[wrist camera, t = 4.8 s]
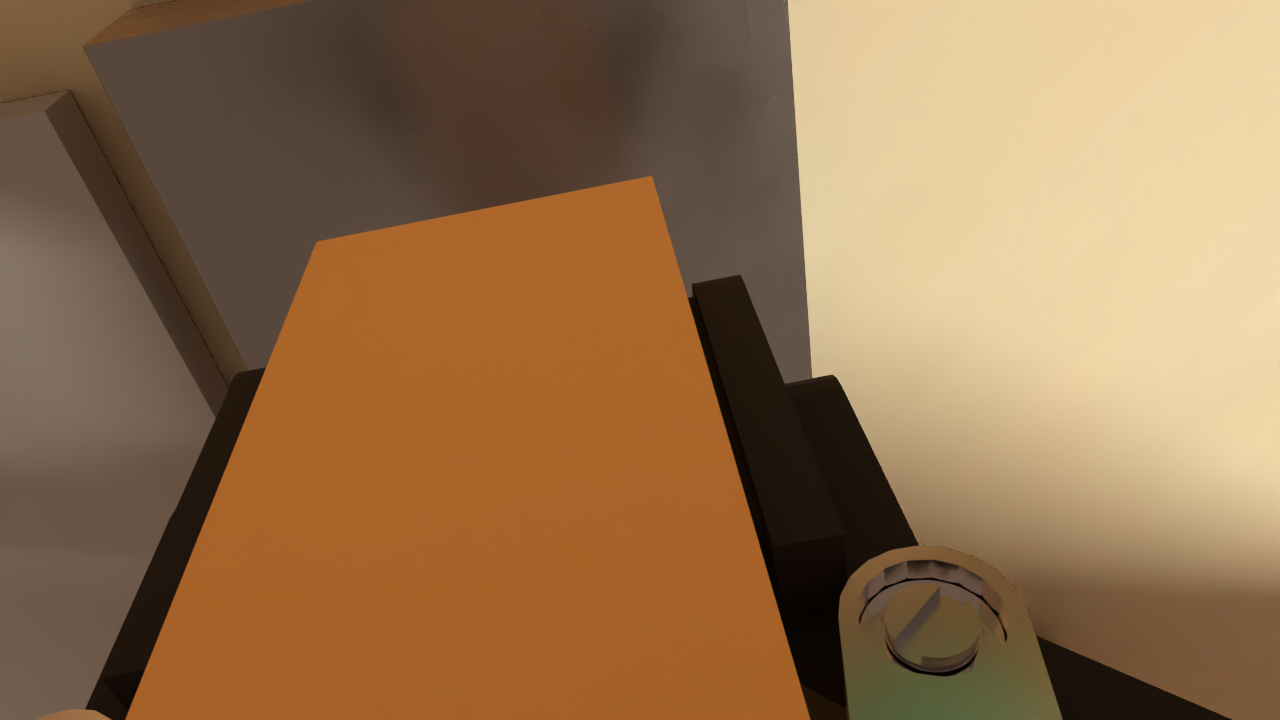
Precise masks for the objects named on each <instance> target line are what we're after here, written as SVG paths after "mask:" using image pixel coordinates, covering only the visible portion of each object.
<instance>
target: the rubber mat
mask: <svg viewBox="0 0 1280 720" xmlns="http://www.w3.org/2000/svg"><path fill="white" fill-rule="evenodd" d="M228 390H229V388H228V386H227V384H226V383H225V381H224V379H223V377H222V375H221V373H220V371H219V370H218V368H217V366H216V364H215V362H214V360H213V358H212V356H211V355H210V353H209V351H208V349H207V347H206V345H205V343H204V341H203V340H202V338H201V336H200V334H199V332H198V330H197V328H196V326H195V325H194V323H193V321H192V319H191V317H190V315H189V313H188V312H187V310H186V308H185V306H184V304H183V302H182V300H181V298H180V297H179V295H178V293H177V291H176V289H175V287H174V285H173V283H172V282H171V280H170V278H169V276H168V274H167V272H166V270H165V268H164V267H163V265H162V263H161V261H160V259H159V257H158V255H157V253H156V252H155V250H154V248H153V246H152V244H151V242H150V240H149V239H148V237H147V235H146V233H145V231H144V229H143V227H142V225H141V224H140V222H139V220H138V218H137V216H136V214H135V212H134V210H133V209H132V207H131V205H130V203H129V201H128V199H127V197H126V195H125V194H124V192H123V190H122V188H121V186H120V184H119V182H118V181H117V179H116V177H115V175H114V173H113V171H112V169H111V167H110V166H109V164H108V162H107V160H106V158H105V156H104V154H103V152H102V151H101V149H100V147H99V145H98V143H97V141H96V139H95V137H94V136H93V134H92V132H91V130H90V128H89V126H88V124H87V123H86V121H85V119H84V117H83V115H82V113H81V111H80V109H79V108H78V106H77V104H76V102H75V100H74V98H73V96H72V94H71V93H70V91H69V90H66V91H61V92H56V93H52V94H47V95H42V96H37V97H32V98H27V99H22V100H17V101H12V102H7V103H2V104H0V720H36V719H38V718H40V717H42V716H45V715H47V714H52V713H56V712H61V711H65V710H70V709H83V710H85V708H86V706H87V703H88V701H89V699H90V697H91V695H92V692H93V690H94V688H95V686H96V683H97V681H98V679H99V677H100V674H101V672H102V670H103V668H104V665H105V663H106V661H107V659H108V656H109V654H110V652H111V650H112V647H113V645H114V643H115V641H116V638H117V636H118V634H119V632H120V629H121V627H122V625H123V623H124V620H125V618H126V616H127V614H128V611H129V609H130V607H131V605H132V602H133V600H134V598H135V596H136V593H137V591H138V589H139V587H140V584H141V582H142V580H143V578H144V575H145V573H146V571H147V569H148V566H149V564H150V562H151V560H152V558H153V555H154V553H155V551H156V549H157V546H158V544H159V542H160V540H161V537H162V535H163V533H164V531H165V528H166V526H167V524H168V522H169V519H170V517H171V516H172V514H173V512H174V511H175V509H176V507H177V505H178V502H179V500H180V498H181V496H182V493H183V491H184V489H185V487H186V484H187V482H188V480H189V478H190V475H191V473H192V471H193V469H194V466H195V464H196V462H197V460H198V457H199V455H200V453H201V451H202V448H203V446H204V444H205V442H206V439H207V437H208V435H209V433H210V430H211V428H212V426H213V424H214V421H215V419H216V417H217V415H218V412H219V410H220V408H221V405H222V403H223V401H224V399H225V396H226V394H227V392H228Z"/></svg>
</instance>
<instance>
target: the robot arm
mask: <svg viewBox="0 0 1280 720" xmlns="http://www.w3.org/2000/svg"><path fill="white" fill-rule="evenodd" d="M692 295H693V297H689V298H688V301H689V304H690V308H691V311H692V315H693V318H694V322H695V325H696V328H697V332H698V335H699V339H700V342H701V346H702V349H703V352H704V356H705V359H706V363H707V366H708V370H709V373H710V377H711V380H712V383H713V387H714V390H715V394H716V397H717V401H718V404H719V407H720V411H721V414H722V418H723V421H724V425H725V428H726V431H727V435H728V438H729V442H730V445H731V449H732V452H733V455H734V459H735V462H736V466H737V469H738V473H739V476H740V480H741V483H742V486H743V490H744V493H745V497H746V500H747V504H748V507H749V510H750V514H751V517H752V521H753V524H754V528H755V531H756V534H757V538H758V541H759V545H760V548H761V552H762V555H763V559H764V562H765V565H766V569H767V572H768V576H769V579H770V583H771V586H772V589H773V593H774V596H775V600H776V603H777V607H778V610H779V613H780V617H781V620H782V624H783V627H784V631H785V634H786V637H787V641H788V644H789V648H790V651H791V655H792V658H793V662H794V665H795V668H796V672H797V675H798V679H799V682H800V686H801V689H802V692H803V696H804V699H805V703H806V706H807V710H808V713H809V716H810V720H1232V719H1229V718H1227V717H1225V716H1222V715H1220V714H1218V713H1215V712H1213V711H1211V710H1208V709H1206V708H1204V707H1201V706H1199V705H1197V704H1194V703H1192V702H1190V701H1187V700H1185V699H1183V698H1180V697H1178V696H1176V695H1173V694H1171V693H1169V692H1166V691H1164V690H1162V689H1159V688H1157V687H1155V686H1152V685H1150V684H1148V683H1145V682H1143V681H1141V680H1138V679H1136V678H1134V677H1131V676H1129V675H1126V674H1124V673H1122V672H1119V671H1117V670H1115V669H1112V668H1110V667H1108V666H1105V665H1103V664H1101V663H1098V662H1096V661H1094V660H1091V659H1089V658H1087V657H1084V656H1082V655H1080V654H1077V653H1075V652H1073V651H1070V650H1068V649H1066V648H1063V647H1061V646H1059V645H1056V644H1054V643H1052V642H1049V641H1047V640H1045V639H1042V638H1040V637H1038V636H1036V634H1035V631H1034V628H1033V625H1032V622H1031V619H1030V616H1029V613H1028V610H1027V608H1026V606H1025V604H1024V602H1023V600H1022V599H1021V597H1020V595H1019V593H1018V591H1017V589H1016V588H1015V587H1014V586H1013V585H1012V584H1011V583H1010V582H1009V581H1008V580H1007V579H1006V578H1005V577H1004V576H1003V575H1002V574H1001V573H1000V572H999V571H998V570H997V569H995V568H993V567H992V566H990V565H988V564H986V563H985V562H983V561H981V560H979V559H978V558H976V557H974V556H972V555H969V554H965V553H962V552H959V551H955V550H952V549H948V548H945V547H929V546H919V545H918V542H917V540H916V538H915V536H914V534H913V532H912V530H911V528H910V526H909V524H908V522H907V520H906V518H905V516H904V514H903V512H902V510H901V507H900V505H899V503H898V501H897V499H896V497H895V495H894V493H893V491H892V489H891V487H890V485H889V483H888V481H887V479H886V477H885V474H884V472H883V470H882V468H881V466H880V464H879V462H878V460H877V458H876V456H875V454H874V452H873V450H872V448H871V446H870V444H869V442H868V439H867V437H866V435H865V433H864V431H863V429H862V427H861V425H860V423H859V421H858V419H857V417H856V415H855V413H854V411H853V409H852V407H851V404H850V402H849V400H848V398H847V396H846V394H845V392H844V390H843V388H842V386H841V384H840V383H839V381H838V379H837V378H836V377H835V376H833V375H828V376H823V377H818V378H812V379H807V380H802V381H797V382H792V383H787V384H785V383H784V381H783V378H782V376H781V373H780V371H779V368H778V366H777V363H776V361H775V358H774V356H773V353H772V351H771V348H770V346H769V343H768V341H767V338H766V336H765V333H764V331H763V328H762V326H761V323H760V321H759V318H758V316H757V313H756V311H755V308H754V306H753V303H752V301H751V298H750V296H749V293H748V291H747V288H746V286H745V283H744V281H743V279H742V277H741V275H734V276H729V277H724V278H719V279H714V280H709V281H704V282H698V283H693V284H692ZM265 369H266V367H265V368H259V369H254V370H249V371H244V372H240V373H238V374H236V376H235V377H234V379H233V381H232V383H231V385H230V387H229V390H228V392H227V394H226V396H225V399H224V401H223V403H222V405H221V408H220V410H219V412H218V415H217V417H216V419H215V421H214V424H213V426H212V428H211V430H210V433H209V435H208V437H207V439H206V442H205V444H204V446H203V448H202V451H201V453H200V455H199V457H198V460H197V462H196V464H195V466H194V469H193V471H192V473H191V475H190V478H189V480H188V482H187V484H186V487H185V489H184V491H183V493H182V496H181V498H180V500H179V502H178V505H177V507H176V509H175V511H174V512H173V514H172V516H171V517H170V519H169V522H168V524H167V526H166V528H165V531H164V533H163V535H162V537H161V540H160V542H159V544H158V546H157V549H156V551H155V553H154V555H153V558H152V560H151V562H150V564H149V566H148V569H147V571H146V573H145V575H144V578H143V580H142V582H141V584H140V587H139V589H138V591H137V593H136V596H135V598H134V600H133V602H132V605H131V607H130V609H129V611H128V614H127V616H126V618H125V620H124V623H123V625H122V627H121V629H120V632H119V634H118V636H117V638H116V641H115V643H114V645H113V647H112V650H111V652H110V654H109V656H108V659H107V661H106V663H105V665H104V668H103V670H102V672H101V674H100V677H99V679H98V681H97V683H96V686H95V688H94V690H93V692H92V695H91V697H90V699H89V701H88V703H87V706H86V708H85V710H83V709H70V710H65V711H61V712H56V713H52V714H47V715H45V716H42V717H40V718H38V719H36V720H125V719H126V717H127V714H128V712H129V709H130V707H131V704H132V702H133V699H134V697H135V694H136V692H137V689H138V687H139V684H140V682H141V679H142V677H143V674H144V672H145V669H146V667H147V664H148V662H149V659H150V657H151V654H152V652H153V649H154V647H155V644H156V642H157V639H158V637H159V634H160V632H161V629H162V627H163V624H164V622H165V619H166V617H167V614H168V612H169V609H170V607H171V604H172V602H173V599H174V597H175V594H176V592H177V589H178V587H179V584H180V582H181V579H182V577H183V574H184V572H185V569H186V567H187V564H188V562H189V559H190V557H191V554H192V552H193V549H194V547H195V544H196V542H197V539H198V537H199V534H200V532H201V529H202V527H203V524H204V522H205V519H206V517H207V514H208V512H209V509H210V507H211V504H212V502H213V499H214V497H215V494H216V492H217V489H218V487H219V484H220V482H221V479H222V477H223V474H224V472H225V469H226V467H227V464H228V462H229V459H230V457H231V454H232V452H233V449H234V447H235V444H236V442H237V439H238V437H239V434H240V432H241V429H242V427H243V424H244V422H245V419H246V417H247V414H248V412H249V409H250V407H251V404H252V402H253V399H254V397H255V394H256V392H257V389H258V387H259V384H260V382H261V379H262V377H263V374H264V372H265Z"/></svg>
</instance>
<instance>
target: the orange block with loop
mask: <svg viewBox="0 0 1280 720" xmlns="http://www.w3.org/2000/svg"><path fill="white" fill-rule="evenodd" d="M125 720H810V716H809V713H808V710H807V706H806V703H805V699H804V696H803V692H802V689H801V686H800V682H799V679H798V675H797V672H796V668H795V665H794V662H793V658H792V655H791V651H790V648H789V644H788V641H787V637H786V634H785V631H784V627H783V624H782V620H781V617H780V613H779V610H778V607H777V603H776V600H775V596H774V593H773V589H772V586H771V583H770V579H769V576H768V572H767V569H766V565H765V562H764V559H763V555H762V552H761V548H760V545H759V541H758V538H757V534H756V531H755V528H754V524H753V521H752V517H751V514H750V510H749V507H748V504H747V500H746V497H745V493H744V490H743V486H742V483H741V480H740V476H739V473H738V469H737V466H736V462H735V459H734V455H733V452H732V449H731V445H730V442H729V438H728V435H727V431H726V428H725V425H724V421H723V418H722V414H721V411H720V407H719V404H718V401H717V397H716V394H715V390H714V387H713V383H712V380H711V377H710V373H709V370H708V366H707V363H706V359H705V356H704V352H703V349H702V346H701V342H700V339H699V335H698V332H697V328H696V325H695V322H694V318H693V315H692V311H691V308H690V304H689V301H688V298H687V294H686V291H685V287H684V284H683V280H682V277H681V274H680V270H679V267H678V263H677V260H676V256H675V253H674V249H673V246H672V243H671V239H670V236H669V232H668V229H667V225H666V222H665V219H664V215H663V212H662V208H661V205H660V201H659V198H658V195H657V191H656V188H655V184H654V181H653V177H652V176H648V177H643V178H638V179H633V180H628V181H623V182H618V183H613V184H608V185H603V186H597V187H592V188H587V189H582V190H577V191H572V192H567V193H562V194H557V195H552V196H547V197H541V198H536V199H531V200H526V201H521V202H516V203H511V204H506V205H501V206H496V207H491V208H485V209H480V210H475V211H470V212H465V213H460V214H455V215H450V216H445V217H440V218H435V219H429V220H424V221H419V222H414V223H409V224H404V225H399V226H394V227H389V228H384V229H379V230H373V231H368V232H363V233H358V234H353V235H348V236H343V237H338V238H333V239H328V240H323V241H317V242H316V244H315V247H314V249H313V252H312V254H311V257H310V259H309V262H308V264H307V267H306V269H305V272H304V274H303V277H302V279H301V282H300V284H299V287H298V289H297V292H296V294H295V297H294V299H293V302H292V304H291V307H290V309H289V312H288V314H287V317H286V319H285V322H284V324H283V327H282V329H281V332H280V334H279V337H278V339H277V342H276V344H275V347H274V349H273V352H272V354H271V357H270V359H269V362H268V364H267V367H266V369H265V372H264V374H263V377H262V379H261V382H260V384H259V387H258V389H257V392H256V394H255V397H254V399H253V402H252V404H251V407H250V409H249V412H248V414H247V417H246V419H245V422H244V424H243V427H242V429H241V432H240V434H239V437H238V439H237V442H236V444H235V447H234V449H233V452H232V454H231V457H230V459H229V462H228V464H227V467H226V469H225V472H224V474H223V477H222V479H221V482H220V484H219V487H218V489H217V492H216V494H215V497H214V499H213V502H212V504H211V507H210V509H209V512H208V514H207V517H206V519H205V522H204V524H203V527H202V529H201V532H200V534H199V537H198V539H197V542H196V544H195V547H194V549H193V552H192V554H191V557H190V559H189V562H188V564H187V567H186V569H185V572H184V574H183V577H182V579H181V582H180V584H179V587H178V589H177V592H176V594H175V597H174V599H173V602H172V604H171V607H170V609H169V612H168V614H167V617H166V619H165V622H164V624H163V627H162V629H161V632H160V634H159V637H158V639H157V642H156V644H155V647H154V649H153V652H152V654H151V657H150V659H149V662H148V664H147V667H146V669H145V672H144V674H143V677H142V679H141V682H140V684H139V687H138V689H137V692H136V694H135V697H134V699H133V702H132V704H131V707H130V709H129V712H128V714H127V717H126V719H125Z"/></svg>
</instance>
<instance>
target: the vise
mask: <svg viewBox="0 0 1280 720" xmlns="http://www.w3.org/2000/svg"><path fill="white" fill-rule="evenodd" d="M83 49H84V51H85V53H86V55H87V56H88V58H89V60H90V62H91V64H92V66H93V68H94V70H95V72H96V74H97V76H98V78H99V80H100V82H101V84H102V86H103V88H104V90H105V92H106V94H107V96H108V98H109V100H110V101H111V103H112V105H113V107H114V109H115V111H116V113H117V115H118V117H119V119H120V121H121V123H122V125H123V127H124V129H125V131H126V133H127V135H128V137H129V139H130V141H131V143H132V144H133V146H134V148H135V150H136V152H137V154H138V156H139V158H140V160H141V162H142V164H143V166H144V168H145V170H146V172H147V174H148V176H149V178H150V180H151V182H152V184H153V186H154V188H155V189H156V191H157V193H158V195H159V197H160V199H161V201H162V203H163V205H164V207H165V209H166V211H167V213H168V215H169V217H170V219H171V221H172V223H173V225H174V227H175V229H176V231H177V232H178V234H179V236H180V238H181V240H182V242H183V244H184V246H185V248H186V250H187V252H188V254H189V256H190V258H191V260H192V262H193V264H194V266H195V268H196V270H197V272H198V274H199V276H200V277H201V279H202V281H203V283H204V285H205V287H206V289H207V291H208V293H209V295H210V297H211V299H212V301H213V303H214V305H215V307H216V309H217V311H218V313H219V315H220V317H221V319H222V320H223V322H224V324H225V326H226V328H227V330H228V332H229V334H230V336H231V338H232V340H233V342H234V344H235V346H236V348H237V350H238V352H239V354H240V356H241V358H242V360H243V362H244V363H245V365H246V367H247V369H248V371H249V370H254V369H259V368H265V367H267V364H268V362H269V359H270V357H271V354H272V352H273V349H274V347H275V344H276V342H277V339H278V337H279V334H280V332H281V329H282V327H283V324H284V322H285V319H286V317H287V314H288V312H289V309H290V307H291V304H292V302H293V299H294V297H295V294H296V292H297V289H298V287H299V284H300V282H301V279H302V277H303V274H304V272H305V269H306V267H307V264H308V262H309V259H310V257H311V254H312V252H313V249H314V247H315V244H316V242H317V241H323V240H328V239H333V238H338V237H343V236H348V235H353V234H358V233H363V232H368V231H373V230H379V229H384V228H389V227H394V226H399V225H404V224H409V223H414V222H419V221H424V220H429V219H435V218H440V217H445V216H450V215H455V214H460V213H465V212H470V211H475V210H480V209H485V208H491V207H496V206H501V205H506V204H511V203H516V202H521V201H526V200H531V199H536V198H541V197H547V196H552V195H557V194H562V193H567V192H572V191H577V190H582V189H587V188H592V187H597V186H603V185H608V184H613V183H618V182H623V181H628V180H633V179H638V178H643V177H648V176H652V177H653V181H654V184H655V188H656V191H657V195H658V198H659V201H660V205H661V208H662V212H663V215H664V219H665V222H666V225H667V229H668V232H669V236H670V239H671V243H672V246H673V249H674V253H675V256H676V260H677V263H678V267H679V270H680V274H681V277H682V280H683V284H684V287H685V291H686V294H687V298H689V297H693V295H692V284H693V283H698V282H704V281H709V280H714V279H719V278H724V277H729V276H734V275H741V277H742V279H743V281H744V283H745V286H746V288H747V291H748V293H749V296H750V298H751V301H752V303H753V306H754V308H755V311H756V313H757V316H758V318H759V321H760V323H761V326H762V328H763V331H764V333H765V336H766V338H767V341H768V343H769V346H770V348H771V351H772V353H773V356H774V358H775V361H776V363H777V366H778V368H779V371H780V373H781V376H782V378H783V381H784V383H785V384H787V383H792V382H797V381H802V380H807V379H812V369H811V354H810V338H809V323H808V308H807V292H806V277H805V262H804V246H803V231H802V215H801V200H800V185H799V169H798V154H797V138H796V123H795V108H794V92H793V77H792V62H791V46H790V31H789V15H788V0H176V1H171V2H166V3H161V4H156V5H151V6H146V7H141V8H136V9H131V10H129V11H128V12H126V13H125V14H124V15H122V16H121V17H120V18H119V19H117V20H116V21H115V22H114V23H112V24H111V25H110V26H108V27H107V28H106V29H105V30H103V31H102V32H101V33H99V34H98V35H97V36H96V37H94V38H93V39H92V40H90V41H89V42H88V43H87V44H85V45H84V46H83Z"/></svg>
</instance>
